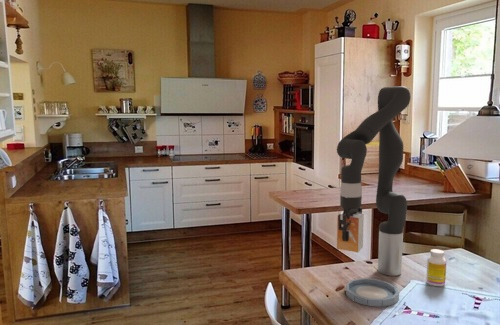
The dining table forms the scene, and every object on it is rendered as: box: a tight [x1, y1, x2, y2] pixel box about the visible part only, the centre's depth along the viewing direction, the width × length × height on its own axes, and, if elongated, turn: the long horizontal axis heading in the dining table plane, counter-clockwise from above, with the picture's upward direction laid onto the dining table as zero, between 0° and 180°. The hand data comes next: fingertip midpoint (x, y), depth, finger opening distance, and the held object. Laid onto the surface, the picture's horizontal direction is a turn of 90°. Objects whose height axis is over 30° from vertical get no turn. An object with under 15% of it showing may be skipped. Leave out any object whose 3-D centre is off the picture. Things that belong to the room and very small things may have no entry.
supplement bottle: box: [425, 248, 447, 287], centre depth 156 cm, size 7×7×13 cm
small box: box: [336, 211, 365, 253], centre depth 150 cm, size 8×6×13 cm
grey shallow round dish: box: [345, 277, 400, 308], centre depth 147 cm, size 18×18×2 cm
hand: (350, 238), depth 150 cm, fingers closed on small box, 7 cm apart
